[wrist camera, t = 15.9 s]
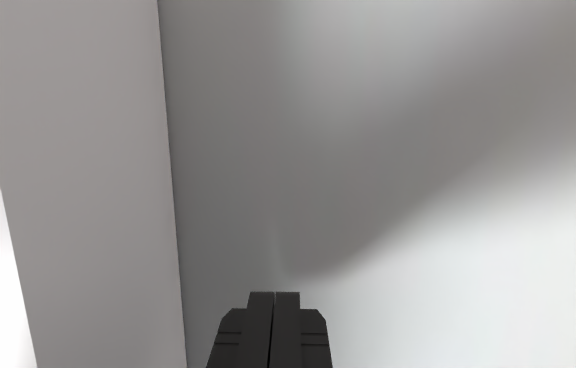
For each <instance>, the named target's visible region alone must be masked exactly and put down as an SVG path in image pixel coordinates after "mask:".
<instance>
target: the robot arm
mask: <svg viewBox="0 0 576 368" xmlns="http://www.w3.org/2000/svg"><path fill="white" fill-rule="evenodd" d="M206 368H333V367H332V360H331V353H330V347H329V340H328V333H327V326H326V320H325V319H324V318H323V317H322V315H321V314H320V313H319V311H318V310H317V309H300V295H299V292H276V296H275V293H274V292H250V296H249V300H248V305H247V309H238V308H232V309H231V310H230V311H229V312H228V313H227V314H226V315H225V316H224V317H223V318H222V320H221V323H220V326H219V329H218V334H217V335H216V338H215V342H214V346H213V348H212V351H211V354H210V357H209V360H208V363H207V366H206Z"/></svg>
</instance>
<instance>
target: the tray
mask: <svg viewBox="0 0 576 368" xmlns="http://www.w3.org/2000/svg"><path fill="white" fill-rule="evenodd" d="M0 368H187V360H186V348H185V336H184V323H183V311H182V299H181V286H180V274H179V262H178V250H177V237H176V225H175V213H174V200H173V188H172V176H171V163H170V151H169V139H168V126H167V114H166V102H165V90H164V77H163V65H162V53H161V40H160V28H159V16H158V3H157V0H0Z"/></svg>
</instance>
